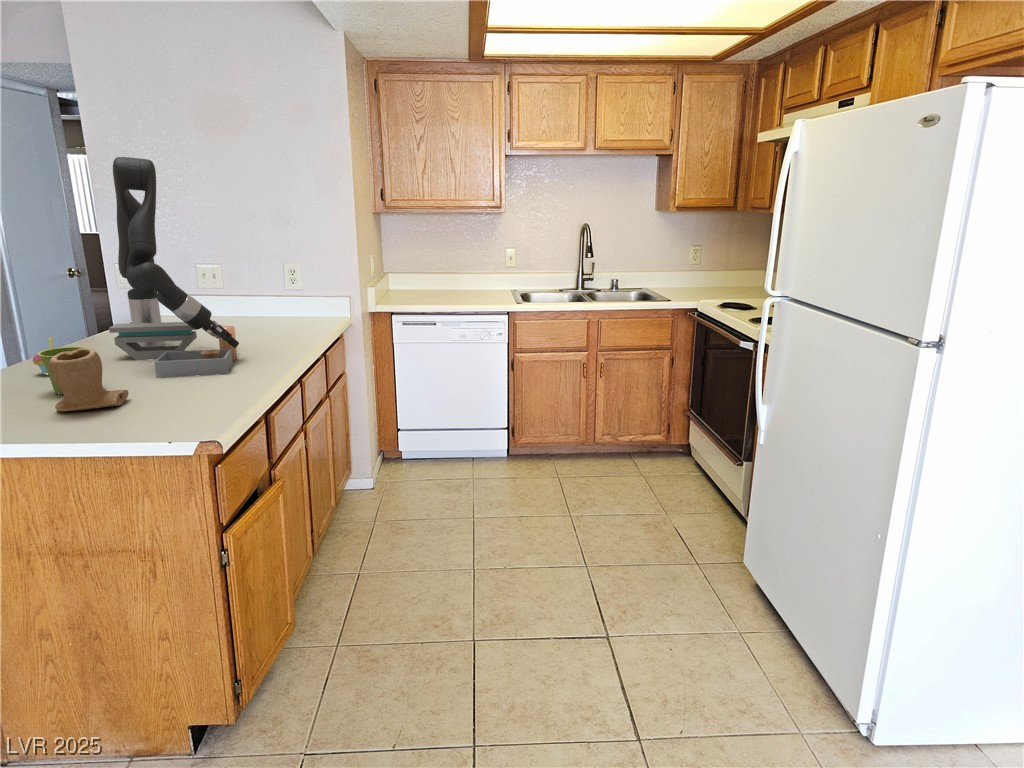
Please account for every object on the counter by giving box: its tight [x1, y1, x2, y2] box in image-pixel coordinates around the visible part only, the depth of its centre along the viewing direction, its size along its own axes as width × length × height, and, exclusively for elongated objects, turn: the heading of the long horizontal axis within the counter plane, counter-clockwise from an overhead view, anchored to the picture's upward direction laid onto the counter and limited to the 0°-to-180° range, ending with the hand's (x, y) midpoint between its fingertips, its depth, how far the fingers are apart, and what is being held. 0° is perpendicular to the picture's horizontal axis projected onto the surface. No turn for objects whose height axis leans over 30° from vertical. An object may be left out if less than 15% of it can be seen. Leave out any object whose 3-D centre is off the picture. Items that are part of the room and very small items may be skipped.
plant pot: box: [37, 346, 91, 395], centre depth 174 cm, size 12×12×11 cm
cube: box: [200, 349, 221, 359], centre depth 200 cm, size 5×5×5 cm
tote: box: [154, 348, 234, 379], centre depth 199 cm, size 19×14×5 cm
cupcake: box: [31, 334, 54, 374], centre depth 192 cm, size 9×8×12 cm
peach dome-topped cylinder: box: [218, 325, 238, 362], centre depth 212 cm, size 5×5×11 cm
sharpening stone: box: [108, 321, 198, 361], centre depth 216 cm, size 25×8×11 cm, turn 105°
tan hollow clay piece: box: [49, 347, 129, 412], centre depth 160 cm, size 15×12×15 cm
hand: (233, 344), depth 213 cm, fingers closed on peach dome-topped cylinder, 5 cm apart
